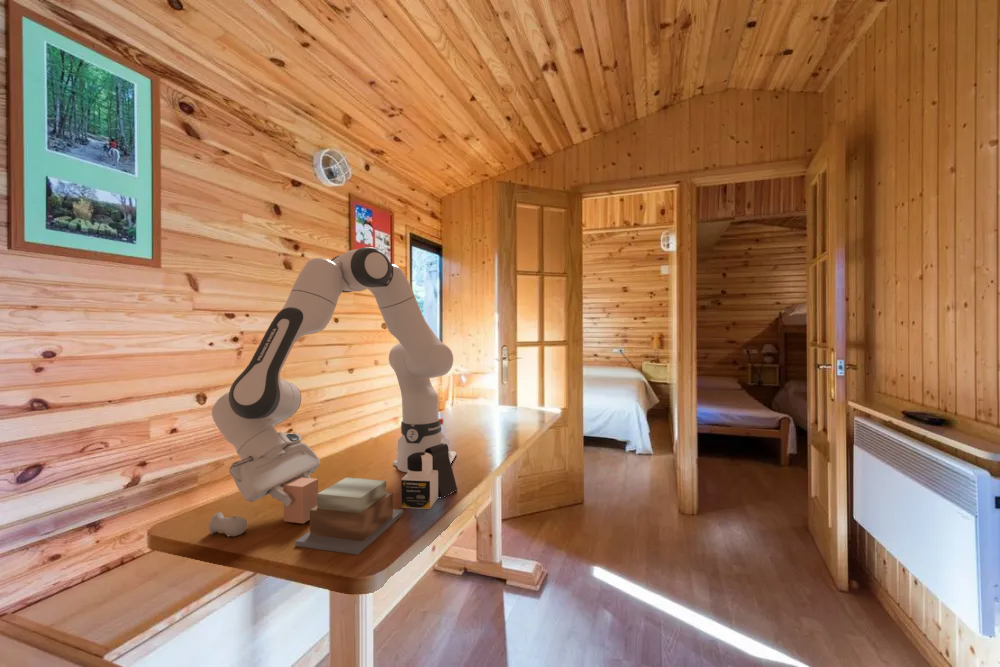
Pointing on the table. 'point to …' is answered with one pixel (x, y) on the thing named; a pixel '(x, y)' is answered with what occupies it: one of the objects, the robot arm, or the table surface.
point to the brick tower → (351, 509)
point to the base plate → (345, 544)
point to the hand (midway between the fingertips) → (301, 497)
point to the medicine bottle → (419, 482)
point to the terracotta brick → (301, 499)
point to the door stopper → (442, 469)
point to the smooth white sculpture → (227, 525)
